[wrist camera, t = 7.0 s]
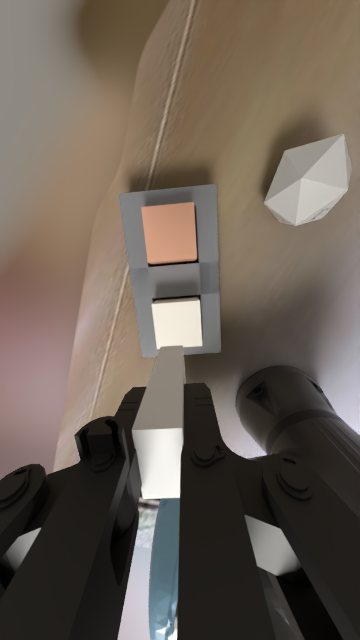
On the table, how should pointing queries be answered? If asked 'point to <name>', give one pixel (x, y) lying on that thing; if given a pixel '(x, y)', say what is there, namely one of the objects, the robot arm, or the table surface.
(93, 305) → the table surface
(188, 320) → the cream key
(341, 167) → the die
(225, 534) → the robot arm
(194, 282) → the key box
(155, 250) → the terracotta key
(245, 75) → the table surface
